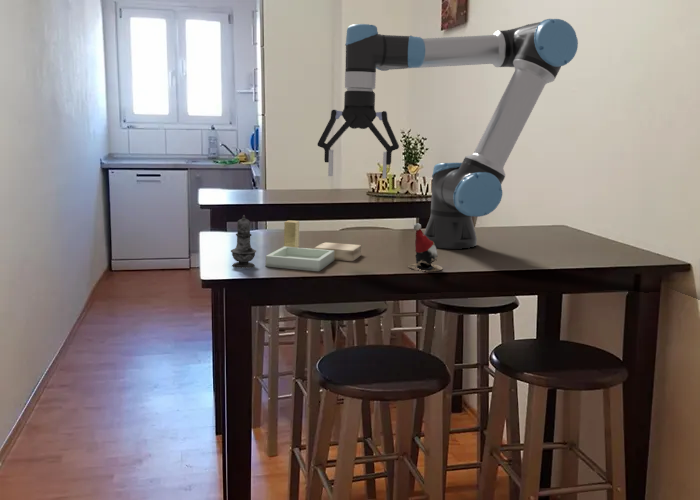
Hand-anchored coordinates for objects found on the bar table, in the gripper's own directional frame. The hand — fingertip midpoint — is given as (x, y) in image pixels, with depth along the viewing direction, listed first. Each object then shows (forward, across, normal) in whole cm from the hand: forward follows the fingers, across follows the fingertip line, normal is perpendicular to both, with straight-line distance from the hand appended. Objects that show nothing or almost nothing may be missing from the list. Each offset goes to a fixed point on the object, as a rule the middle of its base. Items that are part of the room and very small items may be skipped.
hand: (357, 177), depth 178 cm
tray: (+20, +12, +14) cm, 27 cm away
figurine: (+20, -18, +11) cm, 29 cm away
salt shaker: (+20, +24, +20) cm, 37 cm away
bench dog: (+20, +16, +1) cm, 26 cm away
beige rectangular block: (+20, +4, +3) cm, 21 cm away
